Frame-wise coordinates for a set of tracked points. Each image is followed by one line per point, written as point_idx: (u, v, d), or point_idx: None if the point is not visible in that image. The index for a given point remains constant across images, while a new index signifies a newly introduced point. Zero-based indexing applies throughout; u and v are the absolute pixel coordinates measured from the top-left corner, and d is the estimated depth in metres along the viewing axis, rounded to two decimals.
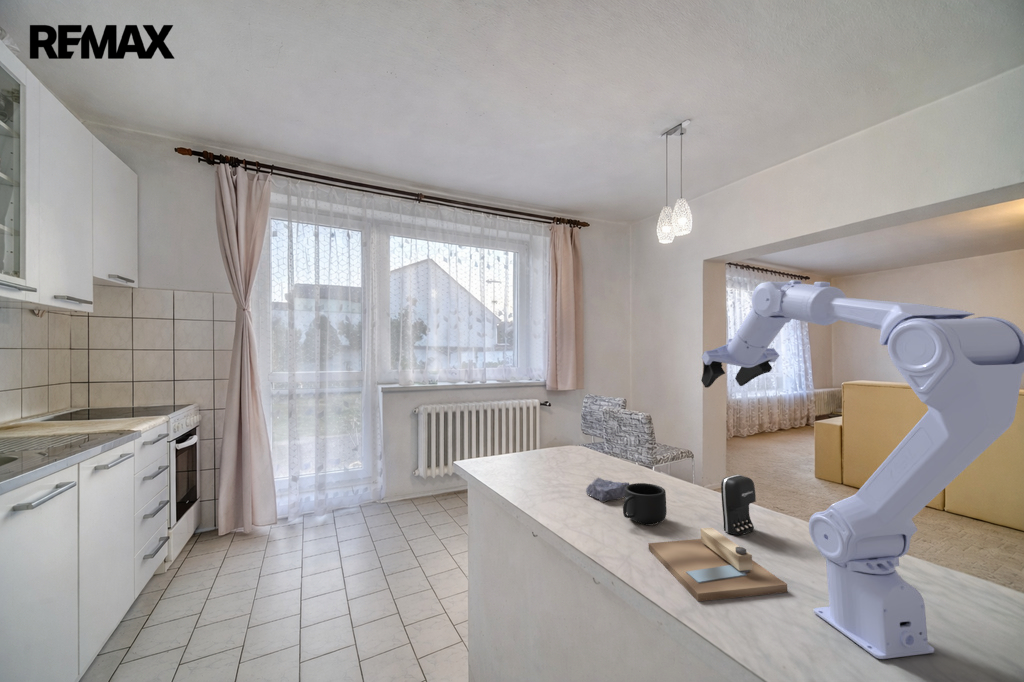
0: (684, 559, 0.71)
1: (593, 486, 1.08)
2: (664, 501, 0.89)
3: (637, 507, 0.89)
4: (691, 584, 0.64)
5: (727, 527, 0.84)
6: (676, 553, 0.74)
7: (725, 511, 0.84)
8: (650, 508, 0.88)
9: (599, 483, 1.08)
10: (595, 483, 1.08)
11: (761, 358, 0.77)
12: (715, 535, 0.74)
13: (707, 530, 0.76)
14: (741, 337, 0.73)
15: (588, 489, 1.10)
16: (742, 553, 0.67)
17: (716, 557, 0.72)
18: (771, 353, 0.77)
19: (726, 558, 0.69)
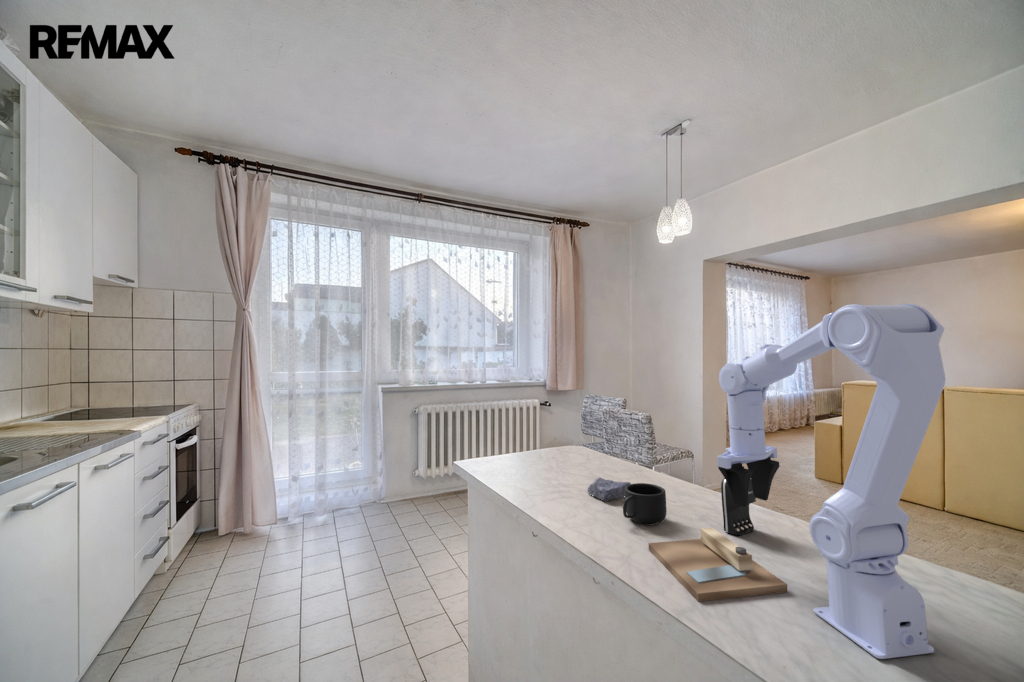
0: (684, 559, 0.71)
1: (595, 486, 1.08)
2: (664, 501, 0.89)
3: (637, 507, 0.89)
4: (691, 584, 0.64)
5: (727, 527, 0.84)
6: (676, 553, 0.74)
7: (725, 511, 0.84)
8: (650, 508, 0.88)
9: (600, 483, 1.08)
10: (596, 483, 1.08)
11: None
12: (715, 535, 0.74)
13: (707, 530, 0.76)
14: (734, 427, 0.73)
15: (589, 489, 1.10)
16: (742, 553, 0.67)
17: (716, 557, 0.72)
18: (768, 448, 0.76)
19: (726, 558, 0.69)
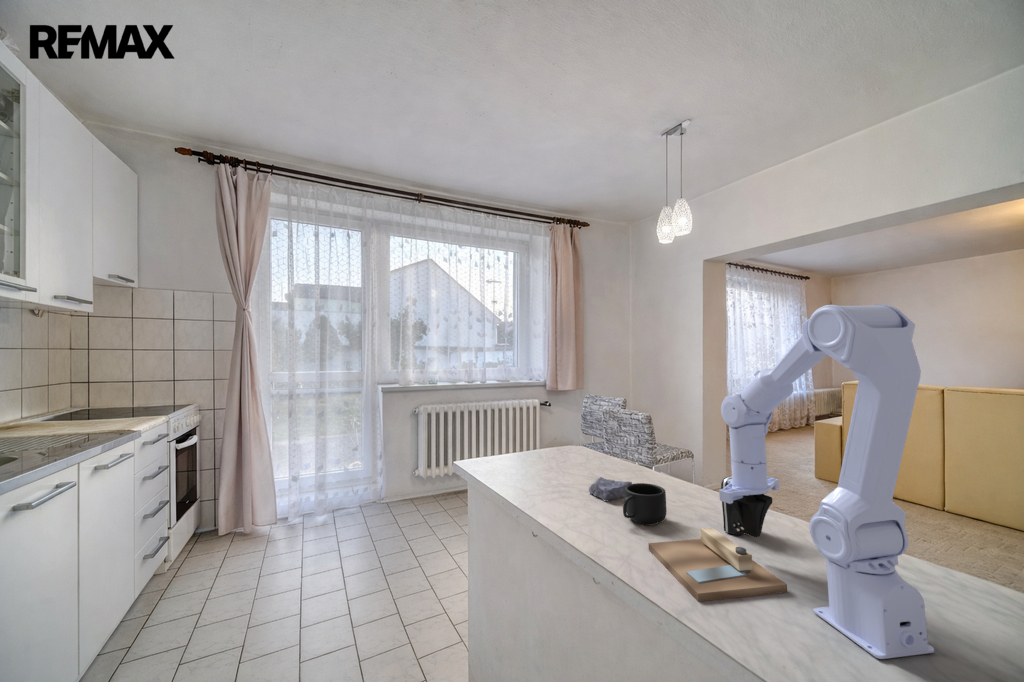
0: (684, 559, 0.71)
1: (596, 485, 1.08)
2: (664, 501, 0.89)
3: (637, 507, 0.89)
4: (691, 584, 0.64)
5: (727, 527, 0.84)
6: (676, 553, 0.74)
7: (725, 511, 0.84)
8: (650, 508, 0.88)
9: (602, 483, 1.08)
10: (598, 482, 1.08)
11: (767, 485, 0.74)
12: (715, 535, 0.74)
13: (707, 530, 0.76)
14: (736, 460, 0.73)
15: (591, 489, 1.10)
16: (742, 553, 0.67)
17: (716, 557, 0.72)
18: (770, 480, 0.76)
19: (726, 558, 0.69)
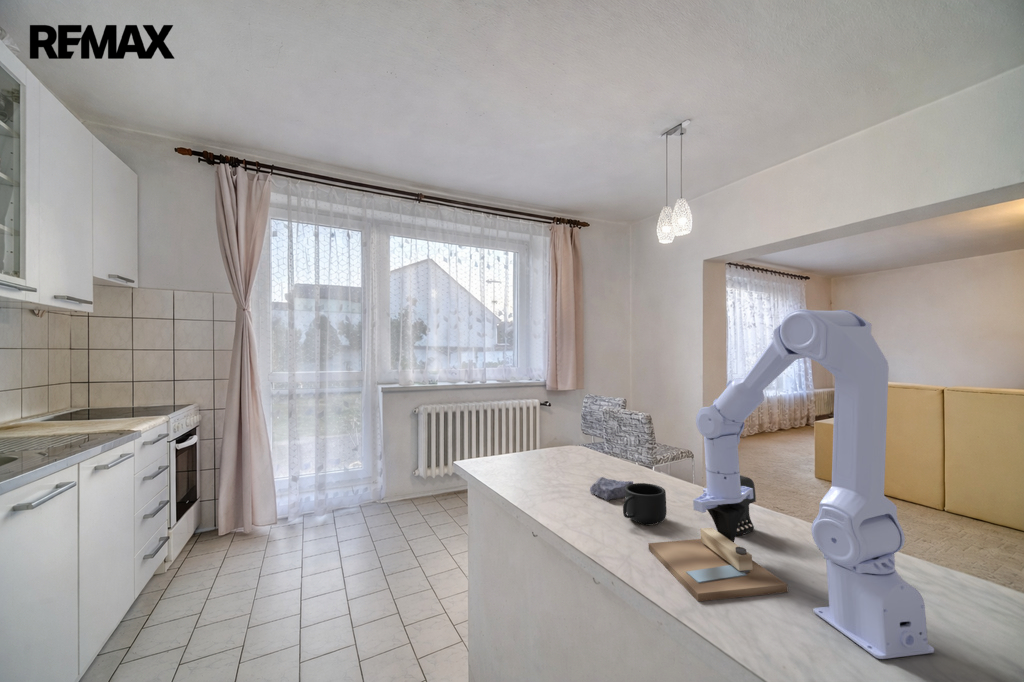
0: (684, 559, 0.71)
1: (597, 485, 1.08)
2: (664, 501, 0.89)
3: (637, 507, 0.89)
4: (691, 584, 0.64)
5: None
6: (676, 553, 0.74)
7: None
8: (650, 508, 0.88)
9: (603, 483, 1.08)
10: (599, 482, 1.09)
11: None
12: (714, 535, 0.74)
13: (707, 530, 0.76)
14: (712, 470, 0.74)
15: (592, 488, 1.10)
16: (742, 553, 0.67)
17: (716, 557, 0.72)
18: (744, 489, 0.78)
19: (726, 558, 0.69)
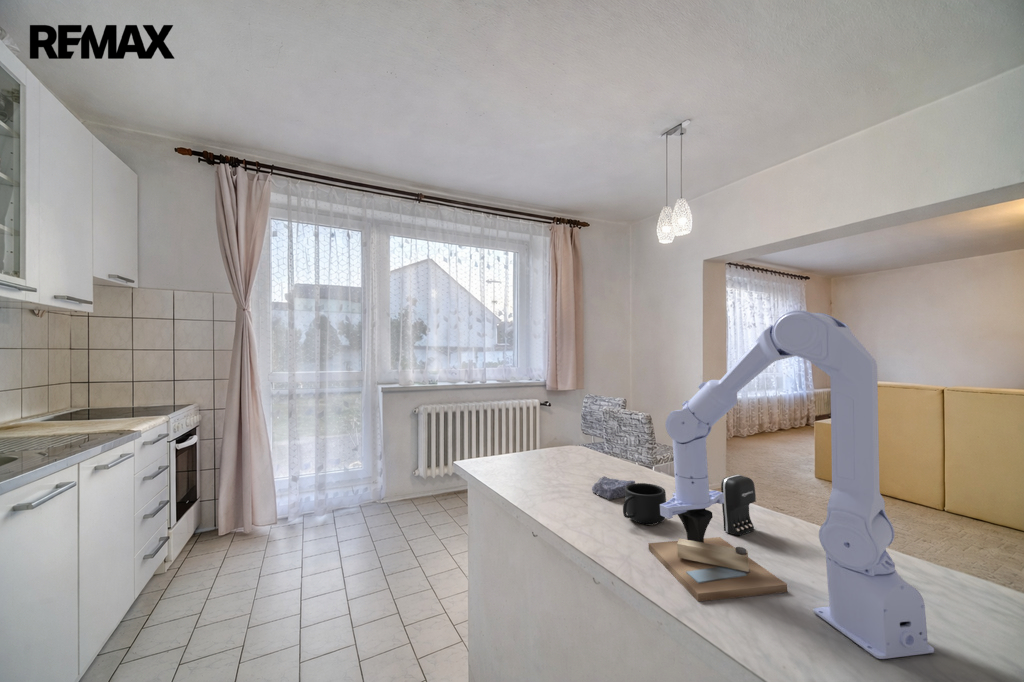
0: (684, 559, 0.71)
1: (600, 484, 1.09)
2: (664, 501, 0.89)
3: (637, 507, 0.89)
4: (691, 584, 0.64)
5: (727, 527, 0.84)
6: (676, 553, 0.74)
7: (725, 511, 0.84)
8: (650, 508, 0.88)
9: (605, 482, 1.09)
10: (601, 482, 1.09)
11: (711, 499, 0.74)
12: (696, 545, 0.70)
13: (683, 543, 0.71)
14: (684, 476, 0.72)
15: (594, 488, 1.11)
16: (746, 552, 0.67)
17: None
18: (715, 493, 0.76)
19: (726, 564, 0.67)
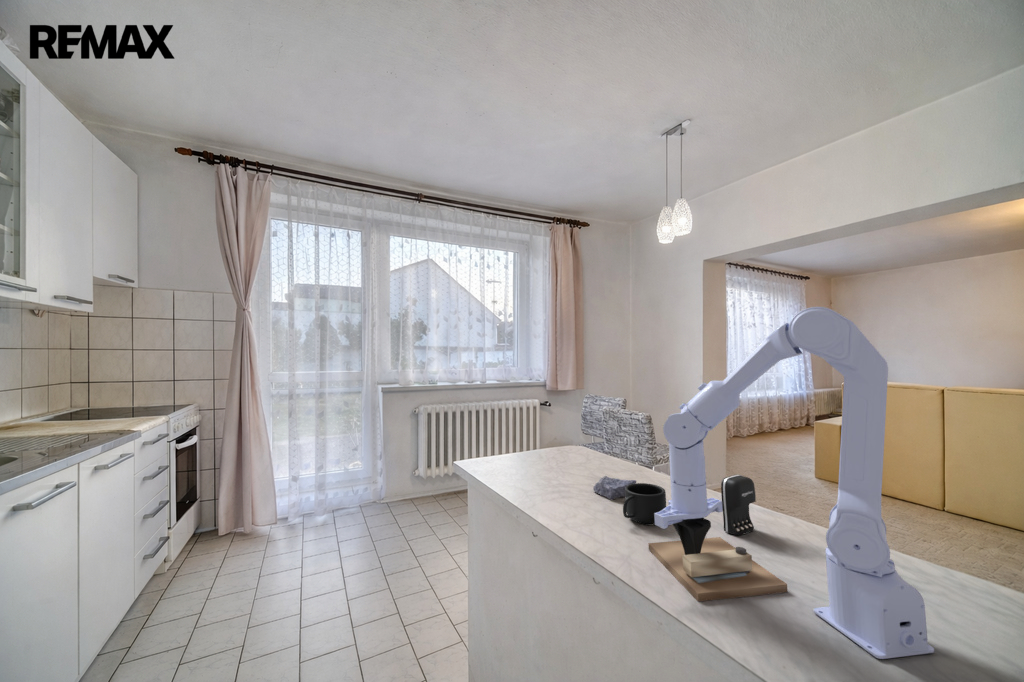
0: None
1: (601, 484, 1.09)
2: (664, 501, 0.89)
3: (637, 507, 0.89)
4: (691, 584, 0.64)
5: (727, 527, 0.84)
6: (676, 553, 0.74)
7: (725, 511, 0.84)
8: (650, 508, 0.88)
9: (607, 482, 1.09)
10: (603, 481, 1.09)
11: (709, 507, 0.70)
12: (705, 557, 0.66)
13: (693, 559, 0.66)
14: (684, 483, 0.67)
15: (596, 487, 1.11)
16: None
17: None
18: (713, 501, 0.72)
19: (734, 569, 0.66)
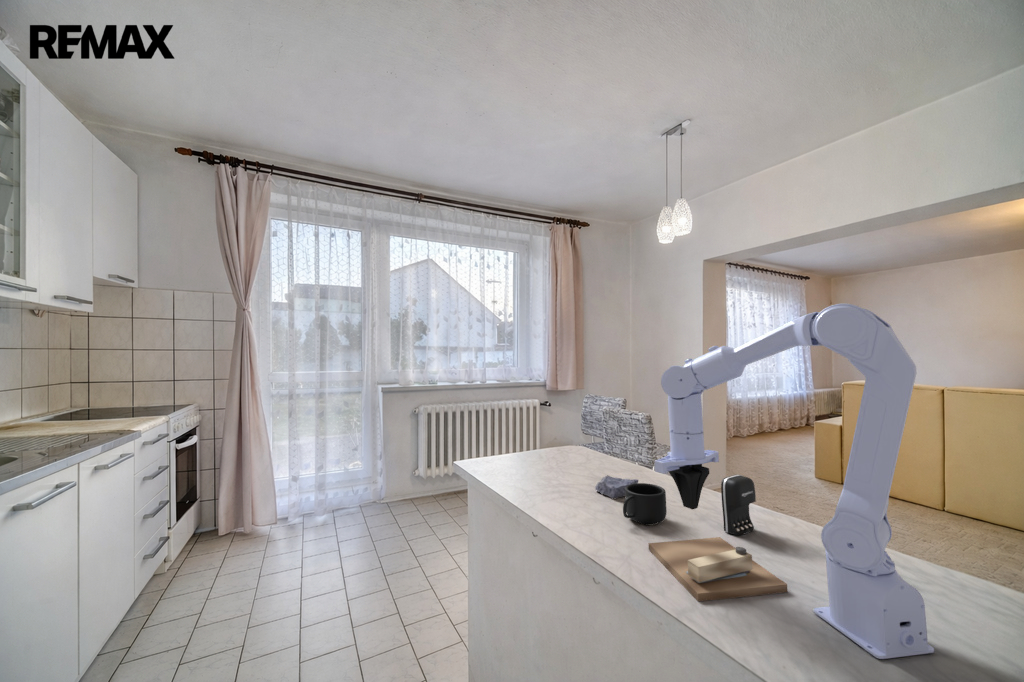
0: (684, 559, 0.71)
1: (603, 483, 1.09)
2: (664, 501, 0.89)
3: (637, 507, 0.89)
4: (691, 584, 0.64)
5: (727, 527, 0.84)
6: (676, 553, 0.74)
7: (725, 511, 0.84)
8: (650, 508, 0.88)
9: (609, 481, 1.09)
10: (605, 481, 1.10)
11: None
12: (710, 560, 0.65)
13: (699, 563, 0.64)
14: (680, 432, 0.70)
15: (598, 487, 1.11)
16: (745, 551, 0.67)
17: None
18: (710, 452, 0.75)
19: (737, 570, 0.65)
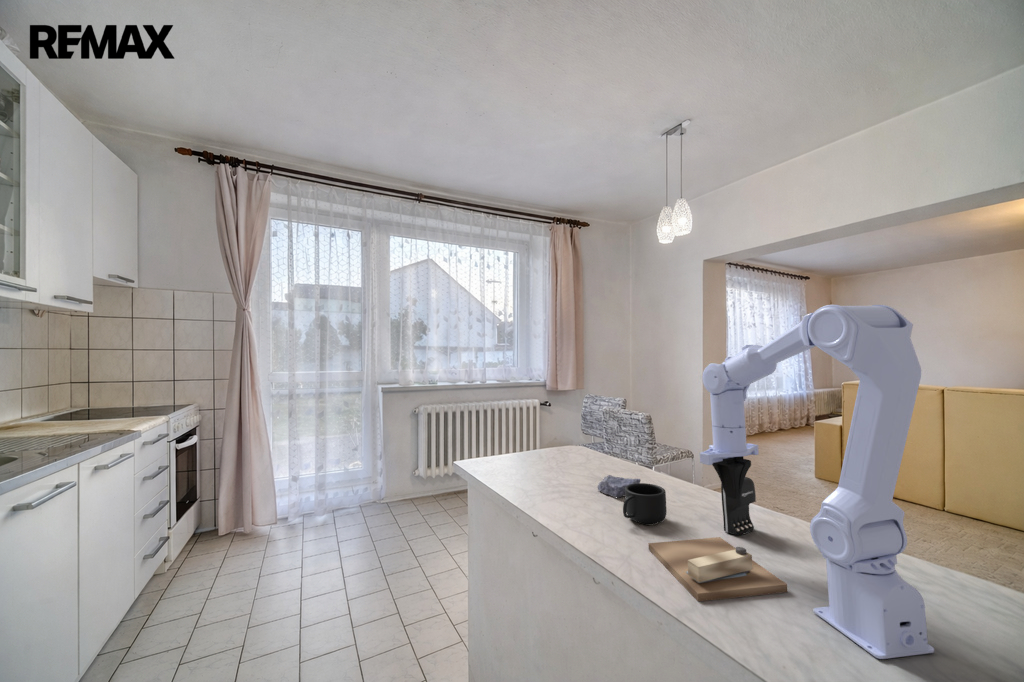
0: (684, 559, 0.71)
1: (606, 483, 1.10)
2: (664, 501, 0.89)
3: (637, 507, 0.89)
4: (691, 584, 0.64)
5: (727, 527, 0.84)
6: (676, 553, 0.74)
7: (725, 511, 0.84)
8: (650, 508, 0.88)
9: (611, 480, 1.10)
10: (608, 480, 1.10)
11: None
12: (710, 560, 0.65)
13: (699, 563, 0.64)
14: (717, 425, 0.76)
15: (600, 486, 1.12)
16: (745, 551, 0.67)
17: None
18: (750, 445, 0.79)
19: (737, 570, 0.65)
